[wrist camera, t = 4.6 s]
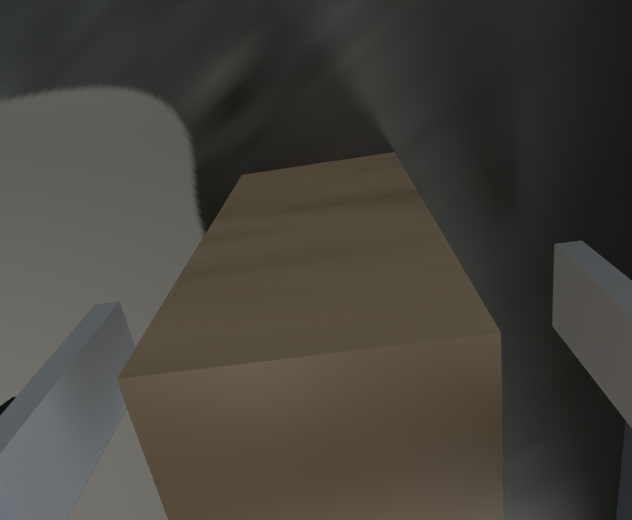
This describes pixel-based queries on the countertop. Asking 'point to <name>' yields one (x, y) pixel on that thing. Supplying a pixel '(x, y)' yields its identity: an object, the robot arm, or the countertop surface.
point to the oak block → (322, 360)
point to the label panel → (625, 478)
